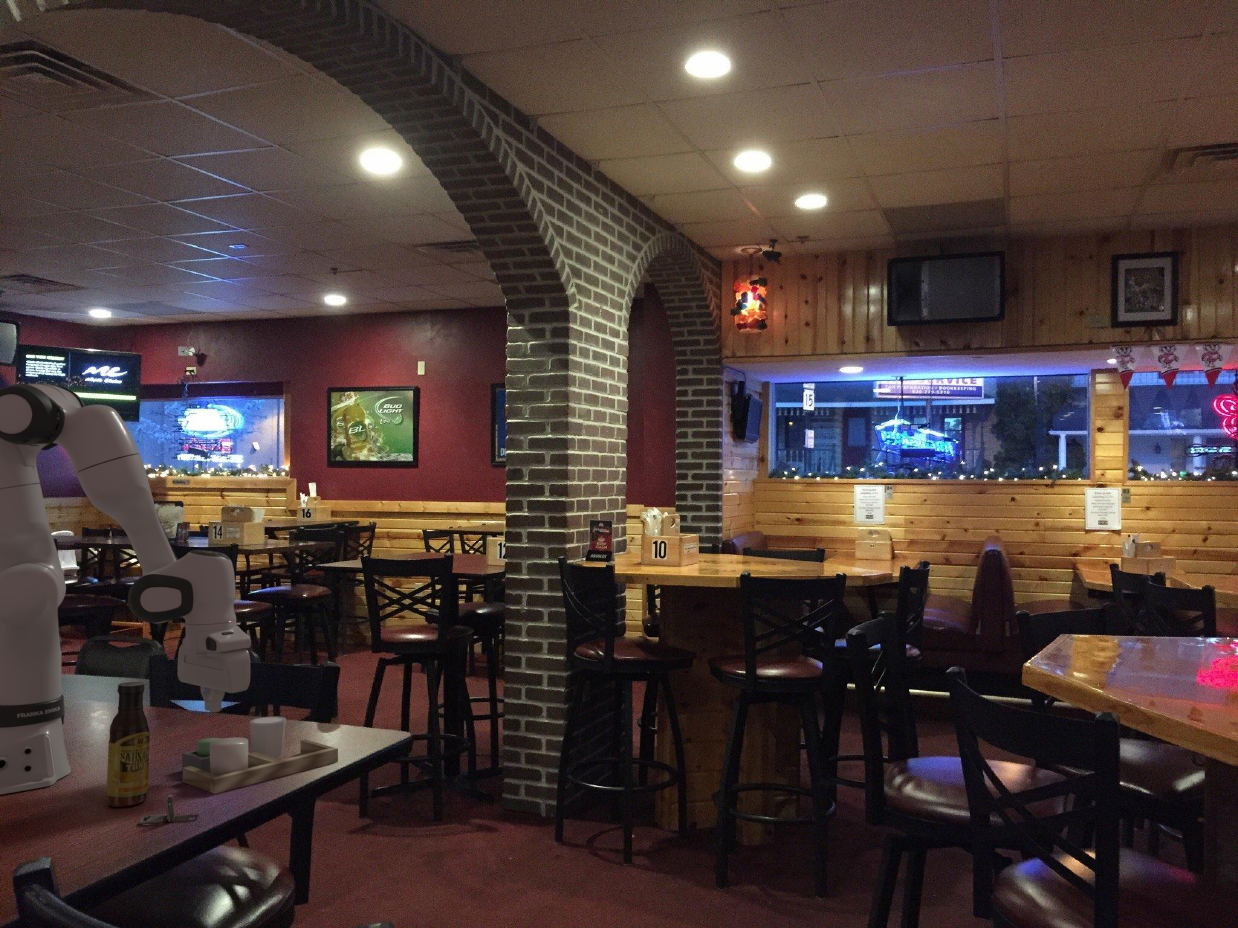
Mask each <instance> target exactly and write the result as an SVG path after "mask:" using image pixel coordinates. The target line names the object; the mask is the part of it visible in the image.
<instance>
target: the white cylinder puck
mask: <svg viewBox="0 0 1238 928" xmlns="http://www.w3.org/2000/svg"><path fill="white" fill-rule="evenodd" d="M248 752H249V739H248V738H245V737H236V736H235V737H226V738H225V737H224V738H221V739H219V740H215V741H213V742H211V743H210V773H212V774H215V775H218V776H219V775H223V774H227V773H231V772H235V771H239V770H243V769H247V768H248Z"/></svg>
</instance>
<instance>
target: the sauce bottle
mask: <svg viewBox="0 0 1238 928" xmlns="http://www.w3.org/2000/svg"><path fill="white" fill-rule="evenodd" d="M144 692H145V682H143V681H129V682H128V681H127V682H121V683H118V685H117V693H118V706H117V713H116V714H115V716H114V717H113V719H112V722H111V723H110V725H109V740H108V749H107V750H108V752H107V753H108V755H107V772H106V773H107V776H106V795H107V796H106V797H107V798H106V803H107V805H108V806H110V807H114V808H123V807H124V808H125V806H126V807H133V806H137V805H140V804H141V802H142V803H143V801H144V802H146V800H147V793H148V790H149V770H150V769H149V768H150V767H149V766H150V765H149V763H150V740H151V738H150V737H151V736H150V735H151V733H150V728H149V723H148V719H147V717H146V714H145V711H144V704H143V703H144ZM136 804H137V805H136Z"/></svg>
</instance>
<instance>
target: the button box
mask: <svg viewBox="0 0 1238 928" xmlns="http://www.w3.org/2000/svg"><path fill="white" fill-rule="evenodd" d="M181 762H182V763H181V765H182V767H181V770H182V771H183V768H184V767H188V766H193V767H195V768H198V769H201V770H204V771H207V772H209V773H210V756H208V757H201V756H198V755H197V749H195V750H190V751H184V752H182V753H181Z"/></svg>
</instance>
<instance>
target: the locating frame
mask: <svg viewBox="0 0 1238 928" xmlns="http://www.w3.org/2000/svg"><path fill="white" fill-rule="evenodd" d="M299 746H300V749H299V750H300V754H302V755H297V756H292V757H288V758H285V759H282V758H281V759H280V758H279V757H278V758H275V757H272V756H268V755H265V754H262V753H259V752H255V751H253V752H252V751H248V768H247V769H243V770H239V771H235V772H231V773H227V774H223V775H219V776H218V775H215V774H212V773H209V772H207V771H204V770H201V769H198V768H195V767H193V766H188V767H184V768H183V770H182V783H185V784H187V785H190V786H193V787H195V788H198V789H201V790H203V791H206V792H209V793H212V794H215V795H216V794H219V793H223V792H227V791H231V790H235V789H239V788H242V787H246V786H251V785H255V784H258V783H261V782H262V783H263V782H266V781H269V780H274V779H277V778H280V777H284V776H288V775H293V774H296V773H297V774H298V773H300V772H304V771H307V770H311V769H316V768H318V767H319V768H320V767H322V766H323V767H324V766H326V765H330V764H334V763H338V762H339V748H338V747H333V746H331V745H327V744H323V743H320V742H316V741H312V740H309V739H306V738H304V739H301V740H300V745H299Z"/></svg>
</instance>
